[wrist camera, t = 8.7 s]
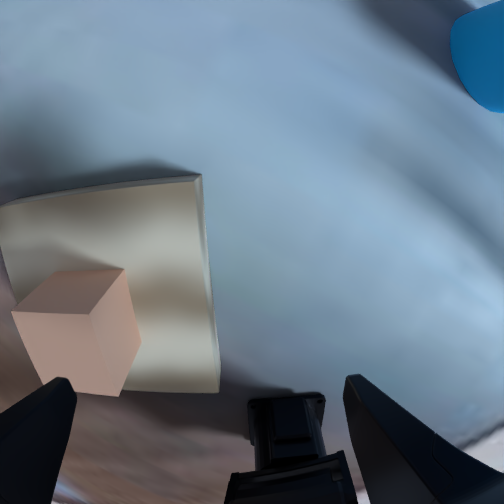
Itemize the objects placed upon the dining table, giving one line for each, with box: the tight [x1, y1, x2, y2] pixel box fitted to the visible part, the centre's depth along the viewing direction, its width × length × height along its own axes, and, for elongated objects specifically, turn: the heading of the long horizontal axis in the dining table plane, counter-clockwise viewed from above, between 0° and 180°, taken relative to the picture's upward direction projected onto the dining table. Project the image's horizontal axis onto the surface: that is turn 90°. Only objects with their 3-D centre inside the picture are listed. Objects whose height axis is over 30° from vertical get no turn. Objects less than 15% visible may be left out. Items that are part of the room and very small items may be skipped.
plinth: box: [0, 174, 221, 393], centre depth 19 cm, size 14×14×3 cm
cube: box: [11, 269, 142, 397], centre depth 16 cm, size 5×5×5 cm
